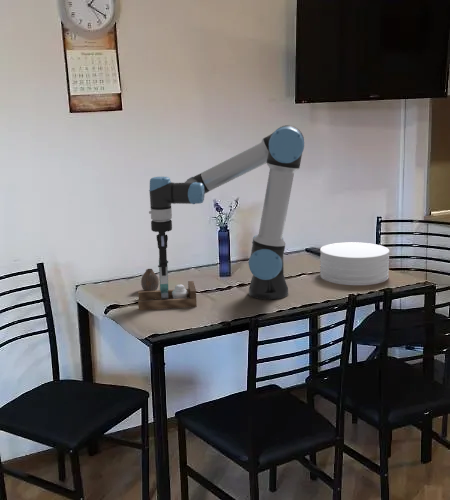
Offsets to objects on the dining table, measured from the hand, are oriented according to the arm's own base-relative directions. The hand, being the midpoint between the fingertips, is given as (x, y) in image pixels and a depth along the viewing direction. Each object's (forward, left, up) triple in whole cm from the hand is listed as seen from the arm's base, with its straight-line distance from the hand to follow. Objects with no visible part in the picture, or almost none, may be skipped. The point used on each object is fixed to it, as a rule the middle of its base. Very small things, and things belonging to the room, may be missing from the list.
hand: (163, 282), depth 256 cm
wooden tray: (-1, -1, -8) cm, 8 cm away
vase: (+16, -7, -8) cm, 20 cm away
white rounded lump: (-4, -4, -8) cm, 10 cm away
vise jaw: (0, 0, -8) cm, 8 cm away
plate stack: (-34, -76, -8) cm, 83 cm away
